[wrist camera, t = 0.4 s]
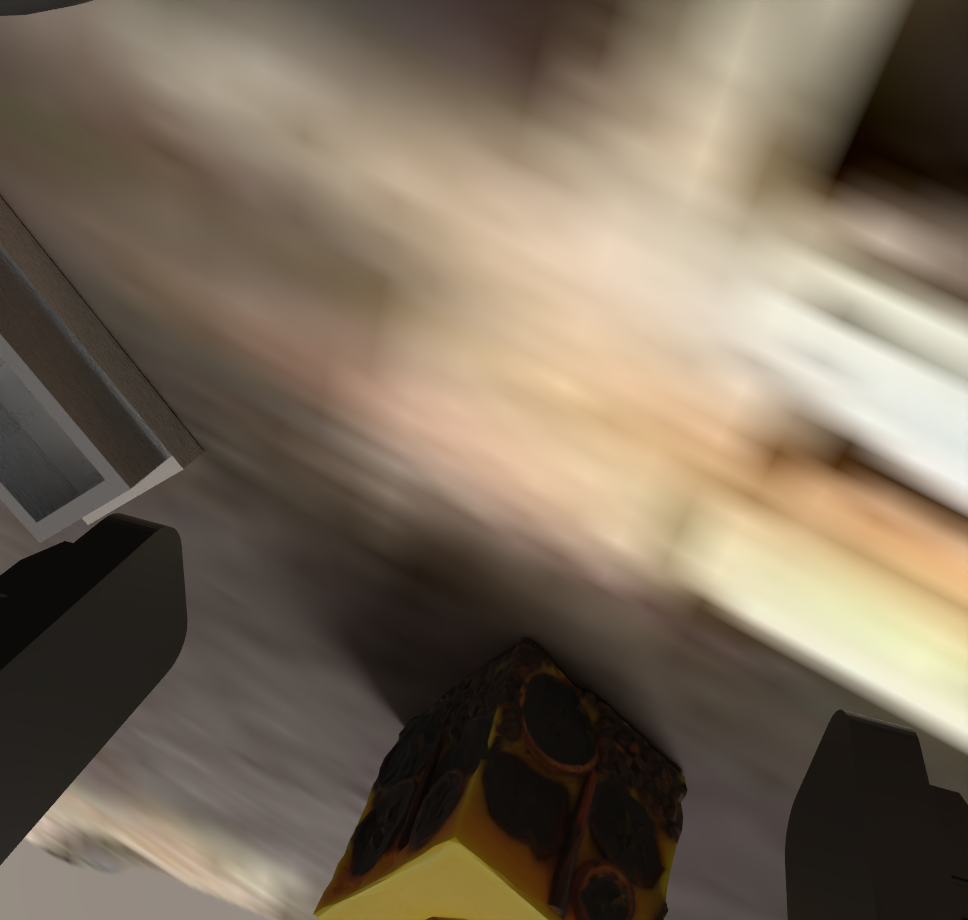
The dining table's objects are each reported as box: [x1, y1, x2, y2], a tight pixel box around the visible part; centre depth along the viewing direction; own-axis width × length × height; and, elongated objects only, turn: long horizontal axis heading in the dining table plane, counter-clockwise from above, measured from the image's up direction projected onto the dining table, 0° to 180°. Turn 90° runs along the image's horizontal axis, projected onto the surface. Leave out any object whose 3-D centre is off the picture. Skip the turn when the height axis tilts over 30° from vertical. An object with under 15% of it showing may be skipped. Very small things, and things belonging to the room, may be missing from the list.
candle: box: [314, 639, 687, 920], centre depth 35 cm, size 10×10×10 cm
